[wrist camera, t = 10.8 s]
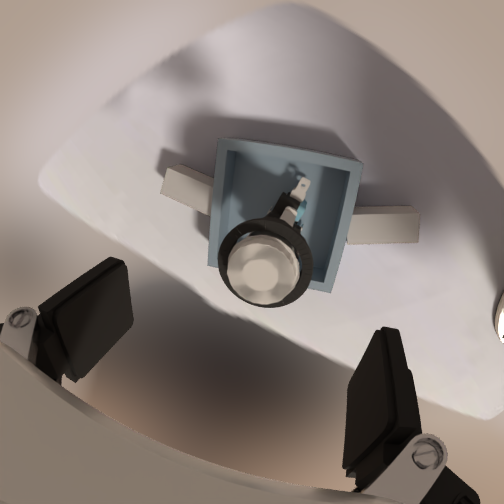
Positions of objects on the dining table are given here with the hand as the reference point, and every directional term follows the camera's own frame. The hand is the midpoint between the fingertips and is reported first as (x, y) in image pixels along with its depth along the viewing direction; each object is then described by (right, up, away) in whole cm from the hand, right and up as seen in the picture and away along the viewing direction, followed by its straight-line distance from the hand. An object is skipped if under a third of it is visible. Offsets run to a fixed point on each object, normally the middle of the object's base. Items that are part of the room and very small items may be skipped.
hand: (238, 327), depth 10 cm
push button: (+4, +6, +14) cm, 15 cm away
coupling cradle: (+3, +6, +14) cm, 16 cm away
